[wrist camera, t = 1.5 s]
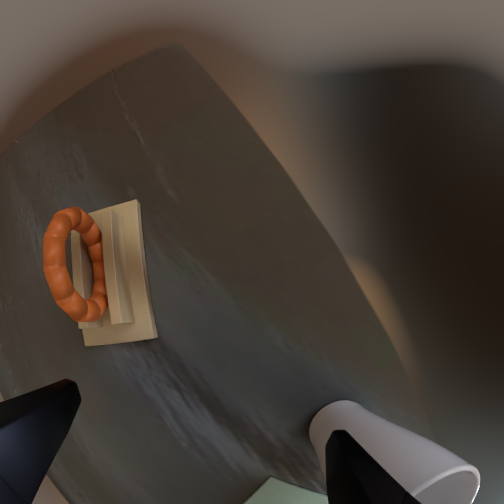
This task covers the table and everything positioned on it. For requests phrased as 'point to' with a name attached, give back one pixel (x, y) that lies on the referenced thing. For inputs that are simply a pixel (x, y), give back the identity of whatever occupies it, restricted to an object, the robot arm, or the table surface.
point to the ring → (58, 271)
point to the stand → (116, 277)
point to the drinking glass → (399, 454)
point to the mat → (284, 494)
